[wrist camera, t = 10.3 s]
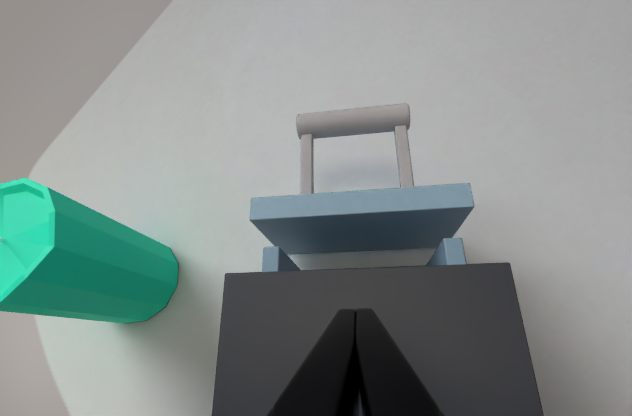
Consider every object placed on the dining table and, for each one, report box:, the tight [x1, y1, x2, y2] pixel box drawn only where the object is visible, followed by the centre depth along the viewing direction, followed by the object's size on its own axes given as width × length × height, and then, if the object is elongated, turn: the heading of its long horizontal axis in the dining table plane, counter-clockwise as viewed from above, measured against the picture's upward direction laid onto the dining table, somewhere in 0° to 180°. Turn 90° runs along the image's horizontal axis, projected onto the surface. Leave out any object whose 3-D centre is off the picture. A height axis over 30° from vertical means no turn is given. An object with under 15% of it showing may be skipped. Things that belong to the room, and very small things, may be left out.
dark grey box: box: [212, 263, 544, 416], centre depth 16 cm, size 12×12×9 cm
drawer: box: [250, 103, 474, 272], centre depth 19 cm, size 16×10×7 cm, turn 0°
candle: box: [0, 178, 178, 323], centre depth 19 cm, size 6×6×12 cm
